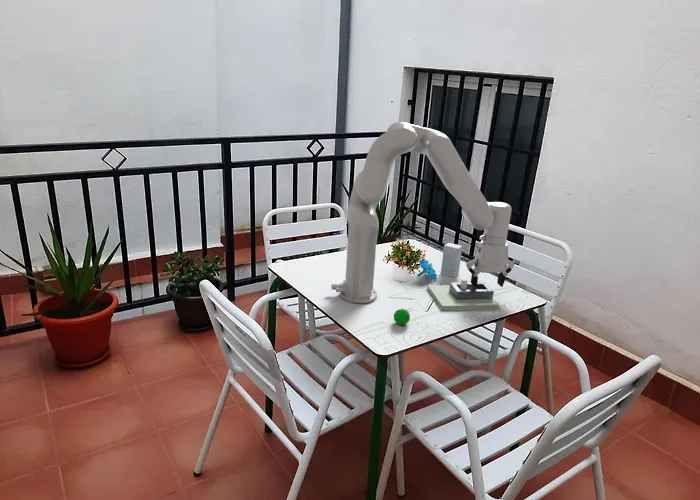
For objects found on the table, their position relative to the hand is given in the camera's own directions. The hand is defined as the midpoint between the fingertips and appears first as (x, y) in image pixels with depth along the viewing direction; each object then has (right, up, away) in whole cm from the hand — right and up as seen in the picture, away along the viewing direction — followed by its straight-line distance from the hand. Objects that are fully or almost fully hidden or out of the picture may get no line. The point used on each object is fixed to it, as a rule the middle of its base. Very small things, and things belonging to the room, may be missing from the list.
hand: (487, 285), depth 171 cm
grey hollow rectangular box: (-6, -3, 0) cm, 7 cm away
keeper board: (-9, -5, 0) cm, 10 cm away
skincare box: (-9, +3, +20) cm, 22 cm away
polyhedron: (-32, -11, -19) cm, 38 cm away
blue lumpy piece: (-18, +2, +16) cm, 25 cm away
